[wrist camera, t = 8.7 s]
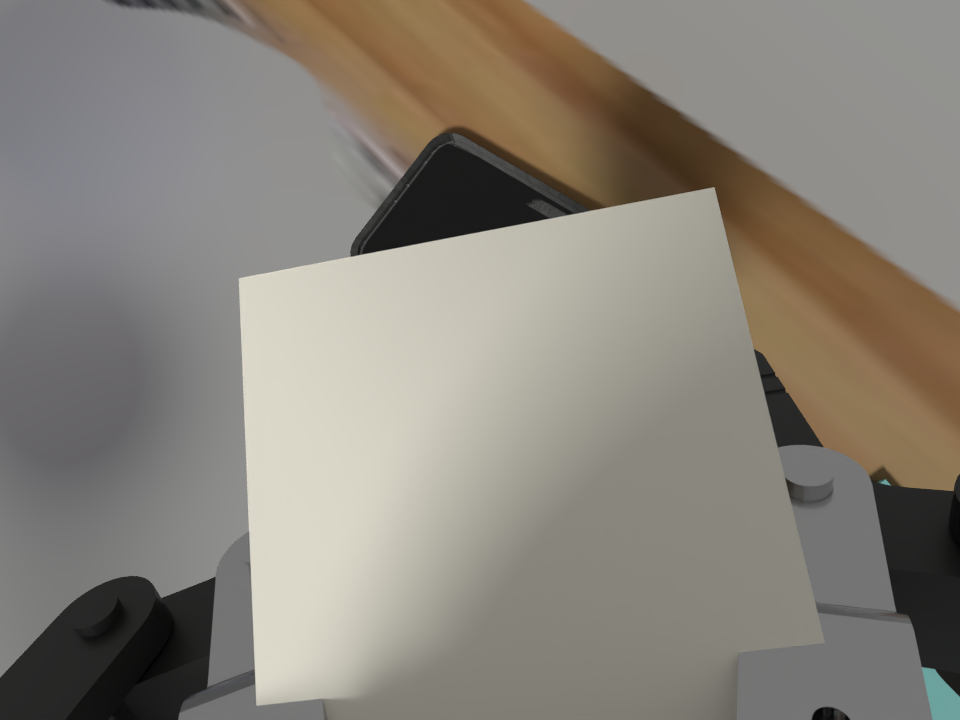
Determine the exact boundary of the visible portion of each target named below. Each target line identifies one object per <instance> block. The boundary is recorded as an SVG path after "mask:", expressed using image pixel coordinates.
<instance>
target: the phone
mask: <svg viewBox="0 0 960 720" xmlns="http://www.w3.org/2000/svg"><path fill="white" fill-rule="evenodd" d="M588 211H591V210H589V209H587V208H586V207H584V206H582V205H580V204H579V203H577V202H575V201H574V200H572V199H570V198H568V197H567V196H565V195H563V194H562V193H560V192H558V191H556V190H555V189H553V188H551V187H550V186H548V185H546V184H544V183H543V182H541V181H539V180H538V179H536V178H534V177H532V176H531V175H529V174H527V173H525V172H524V171H522V170H520V169H519V168H517V167H515V166H513V165H512V164H510V163H508V162H507V161H505V160H503V159H501V158H500V157H498V156H496V155H495V154H493V153H491V152H489V151H488V150H486V149H484V148H482V147H481V146H479V145H477V144H476V143H474V142H472V141H470V140H469V139H467V138H465V137H464V136H461V135H459V134H456V133H446V134H441V135H439V136H437V137H435V138H434V139H432V140H431V141H430V142H429V143H428V144H427V146H426V147H425V148H424V150H423V151H422V152H421V154H420V155H419V156H418V158H417V159H416V160H415V161H414V163H413V164H412V165H411V167H410V168H409V169H408V171H407V172H406V173H405V174H404V176H403V177H402V178H401V180H400V181H399V182H398V184H397V185H396V186H395V187H394V189H393V190H392V191H391V193H390V194H389V195H388V197H387V198H386V199H385V201H384V202H383V203H382V204H381V206H380V207H379V208H378V210H377V211H376V212H375V214H374V215H373V216H372V218H371V219H370V220H369V221H368V223H367V224H366V225H365V227H364V228H363V229H362V231H361V232H360V233H359V234H358V236H357V237H356V239H355V240H354V242H353V244H352V247H351V252H350V253H351V257H353V256H358V255H363V254H369V253H374V252H379V251H384V250H389V249H395V248H400V247H405V246H410V245H416V244H421V243H426V242H431V241H436V240H442V239H447V238H452V237H457V236H462V235H468V234H473V233H478V232H483V231H489V230H494V229H499V228H504V227H509V226H515V225H520V224H525V223H530V222H536V221H541V220H546V219H551V218H556V217H562V216H567V215H572V214H577V213H583V212H588Z"/></svg>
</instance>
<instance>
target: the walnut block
mask: <svg viewBox="0 0 960 720" xmlns="http://www.w3.org/2000/svg"><path fill="white" fill-rule="evenodd" d="M239 291H240V313H241V314H240V317H241V340H242V365H243V389H244V415H245V438H246V461H247V462H246V464H247V488H248V512H249V537H250V562H251V586H252V611H253V635H254V660H255V684H256V706H260V705H269V704H278V703H287V702H296V701H305V700H314V699H323V703H324V707H325V711H326V714H327V718H328V720H737V692H738V656H739V652H748V651H757V650H766V649H775V648H784V647H793V646H803V645H812V644H821V643H825V641H824V637H823V633H822V628H821V624H820V620H819V616H818V612H817V608H816V604H815V600H814V595H813V591H812V587H811V583H810V579H809V575H808V571H807V567H806V563H805V558H804V554H803V550H802V546H801V542H800V538H799V534H798V530H797V525H796V521H795V517H794V513H793V509H792V505H791V501H790V497H789V492H788V488H787V484H786V480H785V476H784V472H783V468H782V464H781V460H780V455H779V451H778V447H777V443H776V439H775V435H774V431H773V427H772V422H771V418H770V414H769V410H768V406H767V402H766V398H765V394H764V389H763V385H762V381H761V377H760V373H759V369H758V365H757V361H756V357H755V352H754V348H753V344H752V340H751V336H750V332H749V328H748V324H747V319H746V315H745V311H744V307H743V303H742V299H741V295H740V291H739V287H738V282H737V278H736V274H735V270H734V266H733V262H732V258H731V254H730V249H729V245H728V241H727V237H726V233H725V229H724V225H723V221H722V216H721V212H720V208H719V204H718V200H717V196H716V192H715V188H714V187H713V188H708V189H703V190H697V191H692V192H687V193H682V194H676V195H671V196H666V197H661V198H656V199H650V200H645V201H640V202H635V203H630V204H624V205H619V206H614V207H609V208H603V209H598V210H593V211H588V212H583V213H577V214H572V215H567V216H562V217H556V218H551V219H546V220H541V221H536V222H530V223H525V224H520V225H515V226H509V227H504V228H499V229H494V230H489V231H483V232H478V233H473V234H468V235H462V236H457V237H452V238H447V239H442V240H436V241H431V242H426V243H421V244H416V245H410V246H405V247H400V248H395V249H389V250H384V251H379V252H374V253H369V254H363V255H358V256H353V257H348V258H342V259H337V260H332V261H327V262H322V263H317V264H312V265H306V266H301V267H296V268H290V269H285V270H280V271H275V272H269V273H264V274H259V275H254V276H248V277H243V278H239Z"/></svg>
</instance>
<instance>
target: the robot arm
mask: <svg viewBox="0 0 960 720" xmlns="http://www.w3.org/2000/svg"><path fill="white" fill-rule="evenodd" d="M754 352H755V357H756V361H757V365H758V369H759V373H760V377H761V381H762V385H763V389H764V394H765V398H766V402H767V406H768V410H769V414H770V418H771V422H772V427H773V431H774V435H775V439H776V443H777V447H778V451H779V455H780V460H781V464H782V468H783V472H784V476H785V480H786V484H787V488H788V492H789V497H790V501H791V505H792V509H793V513H794V517H795V521H796V525H797V530H798V534H799V538H800V542H801V546H802V550H803V554H804V558H805V563H806V567H807V571H808V575H809V579H810V583H811V587H812V591H813V595H814V600H815V604H816V608H817V612H818V616H819V620H820V624H821V628H822V633H823V637H824V641H825V643H821V644H812V645H803V646H793V647H784V648H775V649H766V650H757V651H748V652H739V656H738V692H737V720H933V719H932V714H931V709H930V705H929V700H928V695H927V690H926V685H925V680H924V676H923V671H922V667H924V668H930V669H935V670H936V672H937V673H938V675H939V676H940V677H941V678H942V679H943V680H944V681H945V682H946V683H947V685H948V686H949V687H950V688H951V689H952V690H953V691H954V692H955V693H956V694H957V695H958V696H959V697H960V474H959V476H958V477H957V480H956V482H955V487H954V491H944V490H931V489H919V488H907V487H898V486H891V485H886V484H881V483H877V482H874V481H871V480H870V477H869V476H868V474H867V472H866V471H865V470H864V469H863V468H862V467H861V466H860V465H859V464H858V463H857V462H855V461H854V460H853V459H851V458H849V457H847V456H846V455H844V454H841V453H839V452H837V451H834V450H831V449H827V448H824V447H823V446H822V444H821V443H820V441H819V440H818V438H817V436H816V435H815V433H814V432H813V430H812V429H811V427H810V426H809V424H808V423H807V421H806V420H805V418H804V417H803V415H802V414H801V412H800V410H799V409H798V407H797V406H796V404H795V403H794V401H793V400H792V398H791V397H790V395H789V394H788V393H786V391H785V388H784V386H783V384H782V383H781V381H780V380H779V378H778V377H776V376H775V372H774V371H773V369H772V368H771V366H770V365H769V363H768V362H767V360H766V358H765V357H764V355H763V354H762V353H760V352H758V351H756V350H755V349H754ZM0 720H328V718H327V714H326V711H325V707H324V703H323V699H314V700H305V701H296V702H287V703H278V704H269V705H260V706H256V684H255V660H254V635H253V611H252V586H251V562H250V537H249V532H247V533H246V534H245V535H243V536H242V537H240V538H239V539H238V540H237V541H235V542H234V543H233V544H232V546H231V547H229V549H228V550H227V551H226V552H225V554H224V555H223V557H222V558H221V560H220V562H219V565H218V567H217V572H216V577H214V578H212V579H209V580H207V581H205V582H202V583H199V584H197V585H194V586H192V587H189V588H187V589H184V590H181V591H179V592H176V593H174V594H171V595H169V596H166V597H163V598H161V597H160V595H159V594H158V592H157V590H156V589H155V587H154V586H153V584H152V583H151V582H150V581H149V580H147V579H145V578H142V577H138V576H128V577H121V578H118V579H113V580H111V581H108V582H105V583H103V584H101V585H99V586H96V587H95V588H93V589H91V590H89V591H88V592H86V593H85V594H83V595H82V596H80V597H79V598H77V599H76V600H75V601H74V602H72V603H71V604H70V605H69V606H68V607H67V608H66V609H65V610H64V611H63V612H62V613H61V614H60V615H59V616H58V617H57V618H56V619H55V620H54V621H53V622H52V623H51V624H50V626H49V627H48V628H47V629H46V630H45V631H44V632H43V633H42V634H41V635H40V636H39V637H38V638H37V639H36V640H35V641H34V642H33V644H32V645H31V646H30V647H29V648H28V649H27V650H26V651H25V652H24V653H23V654H22V655H21V656H20V657H19V658H18V659H17V661H16V662H15V663H14V664H13V665H12V666H11V667H10V668H9V669H8V670H7V671H6V672H5V673H4V674H3V676H1V678H0Z"/></svg>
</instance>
